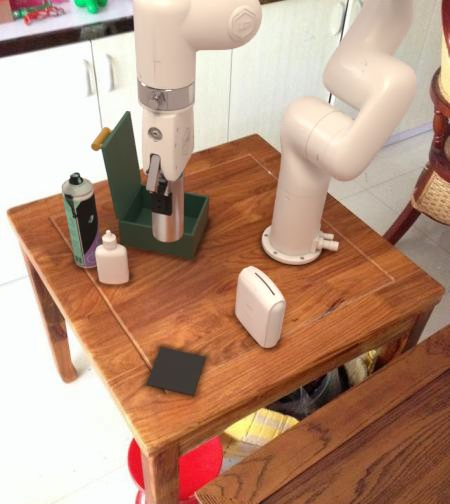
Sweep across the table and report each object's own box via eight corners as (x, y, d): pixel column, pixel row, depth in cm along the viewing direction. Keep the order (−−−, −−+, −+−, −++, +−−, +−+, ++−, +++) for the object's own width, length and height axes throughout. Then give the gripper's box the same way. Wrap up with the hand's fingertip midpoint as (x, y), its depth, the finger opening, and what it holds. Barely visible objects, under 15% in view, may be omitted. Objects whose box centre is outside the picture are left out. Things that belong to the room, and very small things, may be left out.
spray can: (101, 270, 109) (88, 185, 94) (72, 268, 108) (55, 183, 94) (105, 251, 112) (94, 166, 98) (78, 249, 112) (62, 164, 97)
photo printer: (230, 313, 103) (235, 265, 94) (250, 305, 105) (256, 256, 95) (262, 352, 97) (270, 305, 88) (282, 343, 99) (292, 295, 90)
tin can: (187, 226, 92) (188, 166, 84) (178, 245, 89) (178, 185, 81) (158, 219, 93) (156, 160, 85) (148, 238, 90) (145, 178, 81)
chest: (208, 220, 121) (209, 196, 116) (192, 260, 112) (192, 236, 107) (141, 207, 122) (140, 183, 117) (120, 246, 114) (118, 221, 109)
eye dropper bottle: (108, 267, 109) (102, 219, 100) (133, 277, 108) (128, 229, 99) (95, 281, 107) (87, 233, 98) (120, 291, 105) (114, 244, 96)
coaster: (205, 357, 96) (205, 356, 96) (193, 396, 91) (193, 395, 90) (160, 347, 97) (160, 346, 97) (146, 385, 91) (146, 384, 91)
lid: (130, 111, 106) (107, 109, 106) (104, 147, 97) (80, 144, 98) (141, 181, 117) (121, 179, 118) (120, 219, 108) (97, 217, 109)
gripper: (173, 127, 67) (174, 241, 80) (211, 67, 79) (206, 176, 92) (114, 115, 68) (124, 230, 81) (160, 58, 79) (162, 167, 93)
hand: (168, 200), depth 86 cm, fingers closed on tin can, 5 cm apart
